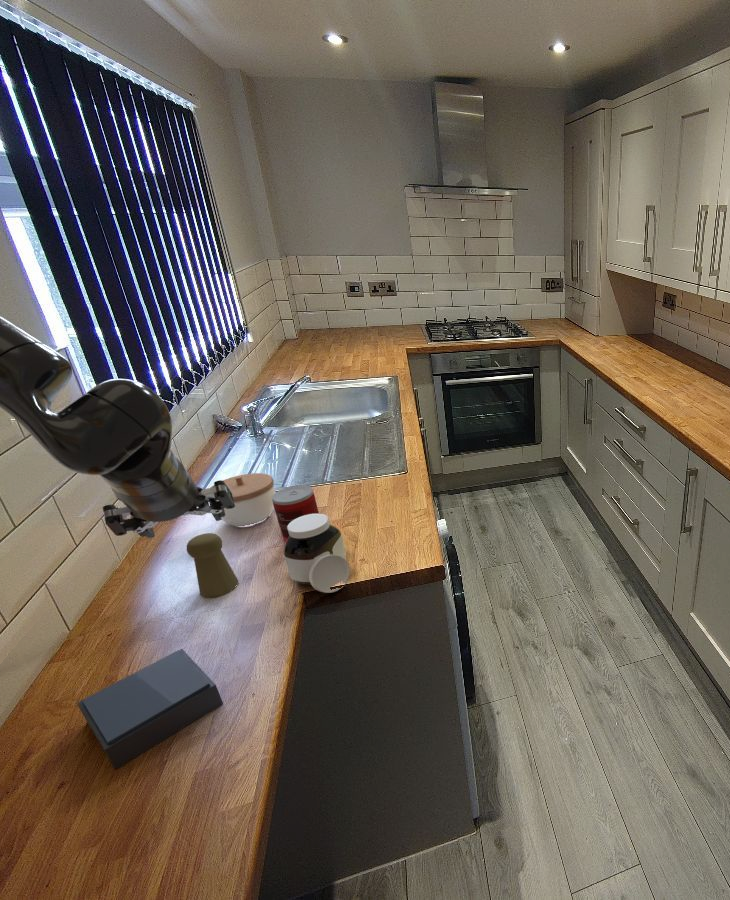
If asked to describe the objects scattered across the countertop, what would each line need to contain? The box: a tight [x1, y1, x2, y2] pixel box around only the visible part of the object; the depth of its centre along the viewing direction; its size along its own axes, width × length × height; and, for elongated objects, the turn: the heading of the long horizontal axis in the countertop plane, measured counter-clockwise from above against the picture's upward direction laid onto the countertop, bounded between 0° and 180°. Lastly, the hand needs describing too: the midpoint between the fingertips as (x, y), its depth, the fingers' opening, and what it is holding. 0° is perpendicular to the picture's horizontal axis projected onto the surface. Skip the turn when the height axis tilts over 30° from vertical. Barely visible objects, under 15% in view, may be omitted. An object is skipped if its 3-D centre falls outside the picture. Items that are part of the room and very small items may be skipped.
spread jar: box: [283, 513, 351, 594], centre depth 98 cm, size 12×11×12 cm
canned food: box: [272, 484, 320, 544], centre depth 112 cm, size 8×8×11 cm
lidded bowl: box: [209, 472, 277, 527], centre depth 119 cm, size 13×13×11 cm
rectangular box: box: [76, 648, 224, 771], centre depth 72 cm, size 12×12×4 cm
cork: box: [186, 532, 239, 599], centre depth 96 cm, size 6×6×11 cm
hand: (185, 523), depth 82 cm, fingers open, 8 cm apart
